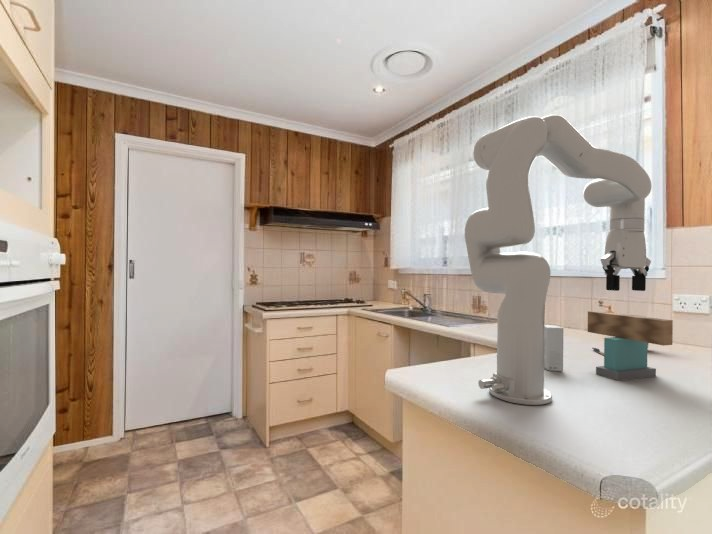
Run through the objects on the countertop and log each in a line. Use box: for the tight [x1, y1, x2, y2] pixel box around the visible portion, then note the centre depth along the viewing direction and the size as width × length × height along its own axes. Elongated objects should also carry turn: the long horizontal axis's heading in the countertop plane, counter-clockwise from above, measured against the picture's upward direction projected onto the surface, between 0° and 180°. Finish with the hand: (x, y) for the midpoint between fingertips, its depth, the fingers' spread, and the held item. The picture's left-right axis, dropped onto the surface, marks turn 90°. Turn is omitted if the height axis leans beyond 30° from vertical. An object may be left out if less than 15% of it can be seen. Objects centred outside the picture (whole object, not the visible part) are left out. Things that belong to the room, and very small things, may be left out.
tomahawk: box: [592, 347, 604, 357], centre depth 120 cm, size 21×7×1 cm, turn 165°
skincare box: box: [544, 324, 564, 372], centre depth 105 cm, size 6×4×12 cm
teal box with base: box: [595, 336, 657, 381], centre depth 99 cm, size 14×6×10 cm, turn 109°
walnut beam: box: [587, 310, 674, 347], centre depth 99 cm, size 20×3×6 cm, turn 19°
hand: (625, 290), depth 99 cm, fingers open, 9 cm apart
